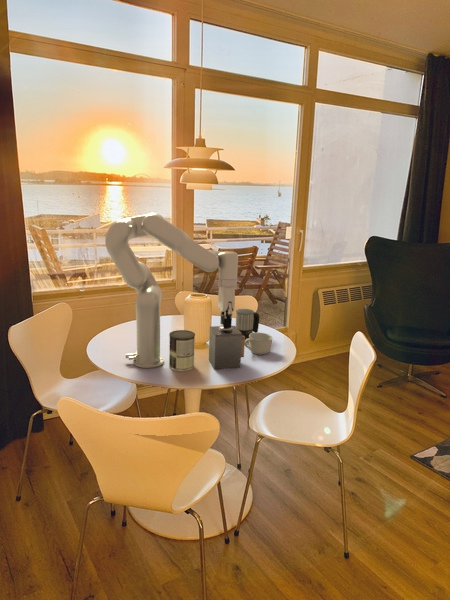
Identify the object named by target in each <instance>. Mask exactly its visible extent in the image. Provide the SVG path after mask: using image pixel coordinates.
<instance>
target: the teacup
mask: <svg viewBox="0 0 450 600" xmlns="http://www.w3.org/2000/svg"><path fill="white" fill-rule="evenodd" d="M273 338H274V337H273V336H272V335H271V334H268V333H266V332H265V333H264V332H259V331H258V332H256V333H255V332H253V333H251V334H249V338H248V339H246V340H245V345H244V347H245V348H247V349H248V350H249V351H251V352H252V353H253V354H255V355H259V356H261V355H262V356H263V354H264V355H266V354H268V353H269V352H270V351H271V349H272V346H273V345H272V344H273ZM248 341H249V342H248Z"/></svg>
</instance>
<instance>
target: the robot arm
mask: <svg viewBox="0 0 450 600" xmlns="http://www.w3.org/2000/svg"><path fill="white" fill-rule="evenodd" d="M146 236H149V237H151V238H152V239H153V240H155V241H158V242H159V243H160V244H162V245H164V246H166V247H167V248H168V249H171V250H172V251H173V252H175V253H176V254H177V255H179V256H181V257H182V258H184V259H185V260H186V261H188V262H189V263H190V264H193V265H194V266H195V267H197V268H199V269H201V271H204V272H207V273H212V272H214V271H216V270H217V269H218V281H217V282H218V283H217V284H218V285H217V286H218V296H217V297H218V298H217V307H218V309H219V310H220V315H221V314H225V318H224V325H223V327H224V328H231V326H232V321H233V320H232V319H233V312H234V311H235V308H236V307H235V303H236V302H235V301H236V297H235V296H236V295H235V294H236V291H235V289H236V288H237V286H238V270H239V268H238V267H239V255H238V253H237V252H236V251H226V250H225V251H219V250H215V249H214V250H213V249H206V248H205V247H203V246H202V245H200V244H199V243H197V242H196V241H195V240H194V239H192V238H191V236H189V234H188V233H187V232H185V231H184V230H182V229H181V228H179V227H177V226H176V225H174V224H172V223H171V222H169V221H168V220H167V219H164V217H163V216H162V215H161V214H159V213H158V212H150V213H147V214H142V215H137V216H131V217H124V218H122V219H118V220H116V221H114V222H113V223H112V224H111V225H110V227H109V228H108V230H107V232H106V235H105V238H104V239H105V248H106V250H107V253H108V254H109V256H110V259H111V260H112V262H113V264H114V265H115V267H116V269H117V270H118V272H119V274H120V275H121V278H122V279H123V281H124V283H125V284H126V285H127V286H128V287H129V288H131V289H134V290H135V292H136V294H137V295H136V298H135V303H134V304H135V314H136V315H135V316H136V318H135V319H136V320H135V321H136V322H135V323H136V350H135V352H133V353H125V359H128V360H129V361H132V363H133V365H134V366H135V367H137V368H143V369H153V368H158V367H161V366H162V365H163V364H164V362H165V360H164V358H163V357H162V356H161V302H162V299H163V292H162V289H161V287H160V286H159V284H158V281H157V280H156V278H155V276H154V275H153V273H152V271H151V270H150V268H149V267H148V266H147V264H145V263H144V262H142V261H139V260H138V259H137V257H136V255H135V253H134V251H133V249H132V248H131V247H130V244H129V241H130V240H132V239H137V238H141V237H146ZM220 325H222V324H221V321H220Z"/></svg>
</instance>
